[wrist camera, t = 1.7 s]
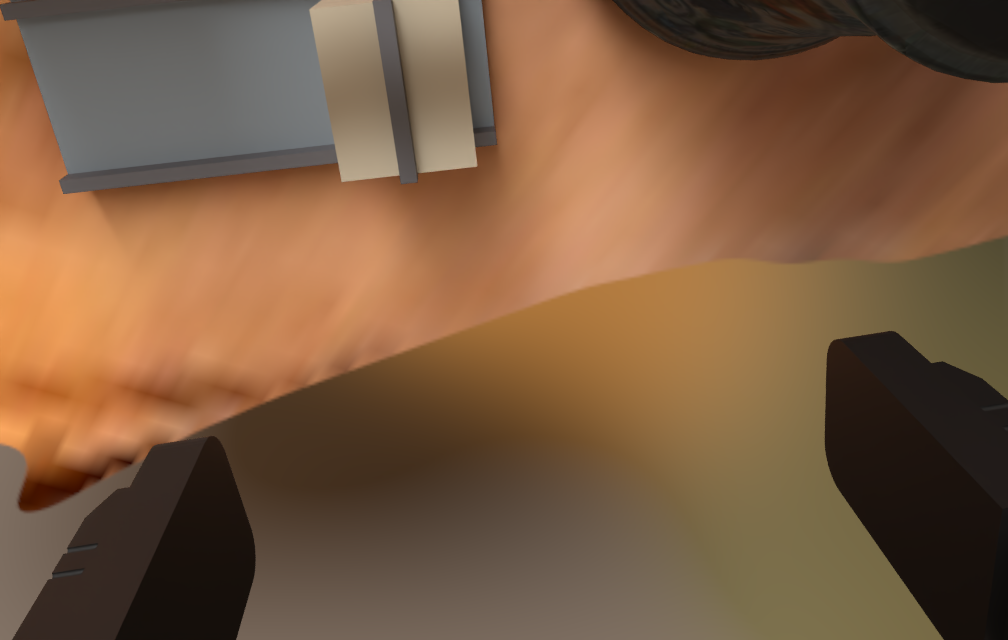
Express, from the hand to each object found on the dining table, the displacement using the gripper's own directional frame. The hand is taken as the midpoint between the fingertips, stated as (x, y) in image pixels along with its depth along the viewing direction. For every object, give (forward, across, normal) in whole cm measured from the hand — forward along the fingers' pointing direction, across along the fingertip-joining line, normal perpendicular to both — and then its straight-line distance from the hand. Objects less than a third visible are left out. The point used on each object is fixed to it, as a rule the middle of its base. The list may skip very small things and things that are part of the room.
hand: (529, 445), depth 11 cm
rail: (+30, +8, -2) cm, 31 cm away
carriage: (+28, +3, -1) cm, 28 cm away
